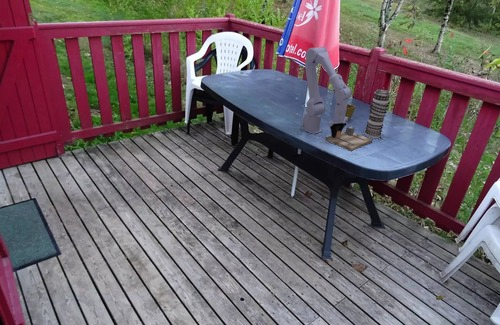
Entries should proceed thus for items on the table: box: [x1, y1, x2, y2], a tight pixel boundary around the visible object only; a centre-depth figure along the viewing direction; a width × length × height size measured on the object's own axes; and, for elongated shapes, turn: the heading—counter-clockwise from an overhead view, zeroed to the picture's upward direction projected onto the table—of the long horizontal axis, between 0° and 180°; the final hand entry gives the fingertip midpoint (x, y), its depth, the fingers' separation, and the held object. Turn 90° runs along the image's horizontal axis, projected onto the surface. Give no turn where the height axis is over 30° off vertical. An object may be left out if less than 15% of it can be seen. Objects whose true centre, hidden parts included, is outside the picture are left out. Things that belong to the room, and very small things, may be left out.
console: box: [325, 130, 373, 152], centre depth 187 cm, size 16×19×2 cm
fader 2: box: [345, 125, 356, 135], centre depth 191 cm, size 3×3×4 cm
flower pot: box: [345, 103, 357, 121], centre depth 214 cm, size 9×9×9 cm
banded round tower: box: [364, 88, 391, 139], centre depth 191 cm, size 9×9×25 cm
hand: (335, 136), depth 187 cm, fingers closed on fader 1, 3 cm apart
